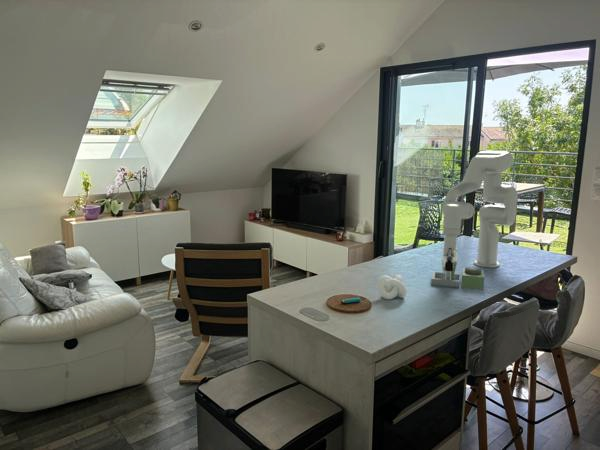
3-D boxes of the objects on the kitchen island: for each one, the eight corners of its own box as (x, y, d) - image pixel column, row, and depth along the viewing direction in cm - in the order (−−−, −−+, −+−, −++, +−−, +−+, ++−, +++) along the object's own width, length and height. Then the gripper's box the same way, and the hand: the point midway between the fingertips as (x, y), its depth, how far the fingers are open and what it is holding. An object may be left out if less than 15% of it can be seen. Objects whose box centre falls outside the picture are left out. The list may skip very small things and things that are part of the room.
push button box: (432, 277, 224) (433, 262, 222) (481, 282, 217) (483, 266, 216) (431, 285, 213) (432, 269, 211) (483, 290, 206) (484, 273, 204)
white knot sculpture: (412, 297, 197) (414, 277, 196) (396, 304, 189) (397, 283, 187) (390, 290, 205) (391, 271, 203) (374, 297, 197) (374, 277, 195)
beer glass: (456, 284, 212) (459, 252, 209) (440, 283, 214) (442, 251, 211) (455, 279, 219) (457, 248, 216) (439, 278, 220) (441, 247, 217)
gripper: (443, 227, 221) (441, 262, 224) (442, 234, 204) (439, 272, 208) (460, 228, 218) (457, 263, 222) (460, 235, 202) (457, 274, 206)
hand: (448, 268), depth 215 cm, fingers open, 8 cm apart
